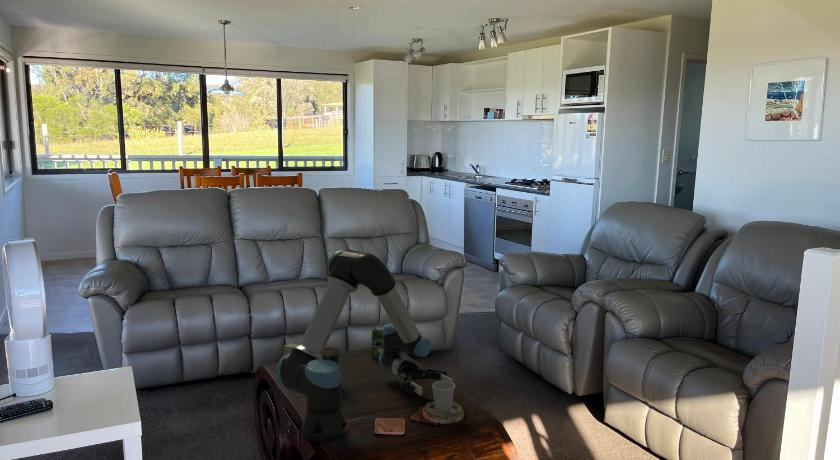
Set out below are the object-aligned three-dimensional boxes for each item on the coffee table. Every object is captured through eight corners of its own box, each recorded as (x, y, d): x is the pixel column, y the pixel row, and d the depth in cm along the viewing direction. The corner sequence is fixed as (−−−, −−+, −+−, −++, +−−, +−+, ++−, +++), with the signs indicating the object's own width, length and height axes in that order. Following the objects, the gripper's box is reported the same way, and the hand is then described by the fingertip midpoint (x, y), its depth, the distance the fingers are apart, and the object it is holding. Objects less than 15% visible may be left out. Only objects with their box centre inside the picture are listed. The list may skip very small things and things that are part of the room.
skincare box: (302, 372, 254) (302, 345, 252) (295, 376, 250) (294, 347, 248) (291, 369, 257) (290, 342, 255) (284, 373, 254) (283, 345, 252)
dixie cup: (453, 417, 211) (453, 390, 209) (429, 415, 212) (429, 388, 211) (456, 407, 219) (456, 381, 217) (433, 405, 220) (433, 379, 219)
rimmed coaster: (438, 427, 205) (438, 421, 205) (414, 411, 217) (414, 405, 217) (472, 416, 213) (472, 410, 213) (447, 402, 226) (447, 395, 225)
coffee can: (334, 391, 235) (334, 357, 233) (310, 389, 237) (309, 354, 235) (343, 381, 244) (343, 348, 243) (320, 379, 247) (319, 346, 245)
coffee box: (390, 357, 273) (390, 329, 272) (389, 359, 271) (389, 331, 269) (372, 356, 274) (372, 328, 272) (371, 358, 271) (371, 330, 269)
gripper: (431, 371, 243) (463, 389, 226) (377, 385, 229) (407, 405, 212) (431, 354, 242) (464, 370, 224) (377, 366, 228) (408, 384, 211)
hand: (436, 387), depth 218 cm, fingers open, 13 cm apart
